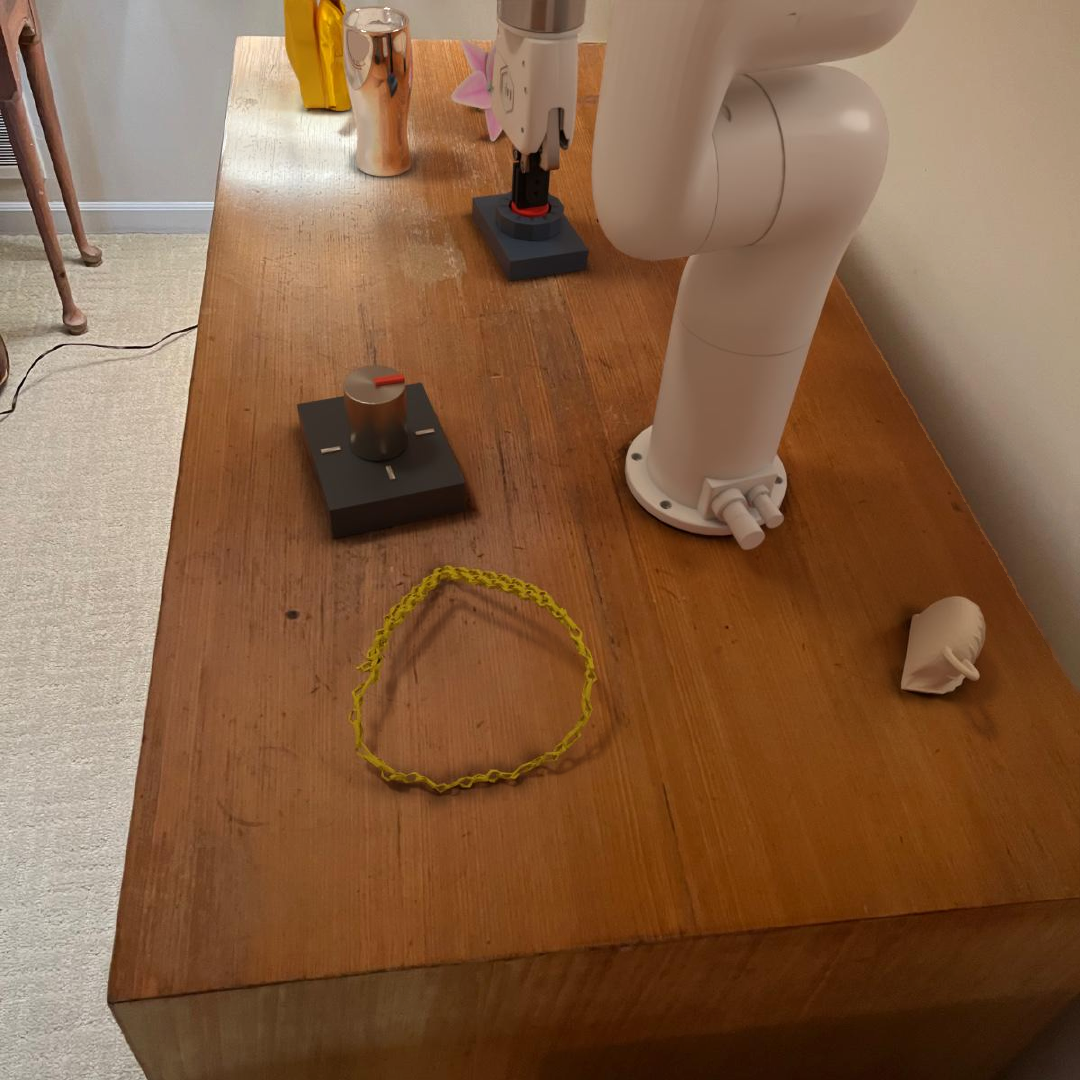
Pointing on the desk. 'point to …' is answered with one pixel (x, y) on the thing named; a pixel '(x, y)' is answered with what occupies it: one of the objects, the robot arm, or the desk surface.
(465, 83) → the lily
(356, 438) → the dial
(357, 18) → the beer glass
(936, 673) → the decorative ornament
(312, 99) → the yellow foil bag
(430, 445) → the panel
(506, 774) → the decorative chain
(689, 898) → the desk surface
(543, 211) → the button
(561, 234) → the button block
